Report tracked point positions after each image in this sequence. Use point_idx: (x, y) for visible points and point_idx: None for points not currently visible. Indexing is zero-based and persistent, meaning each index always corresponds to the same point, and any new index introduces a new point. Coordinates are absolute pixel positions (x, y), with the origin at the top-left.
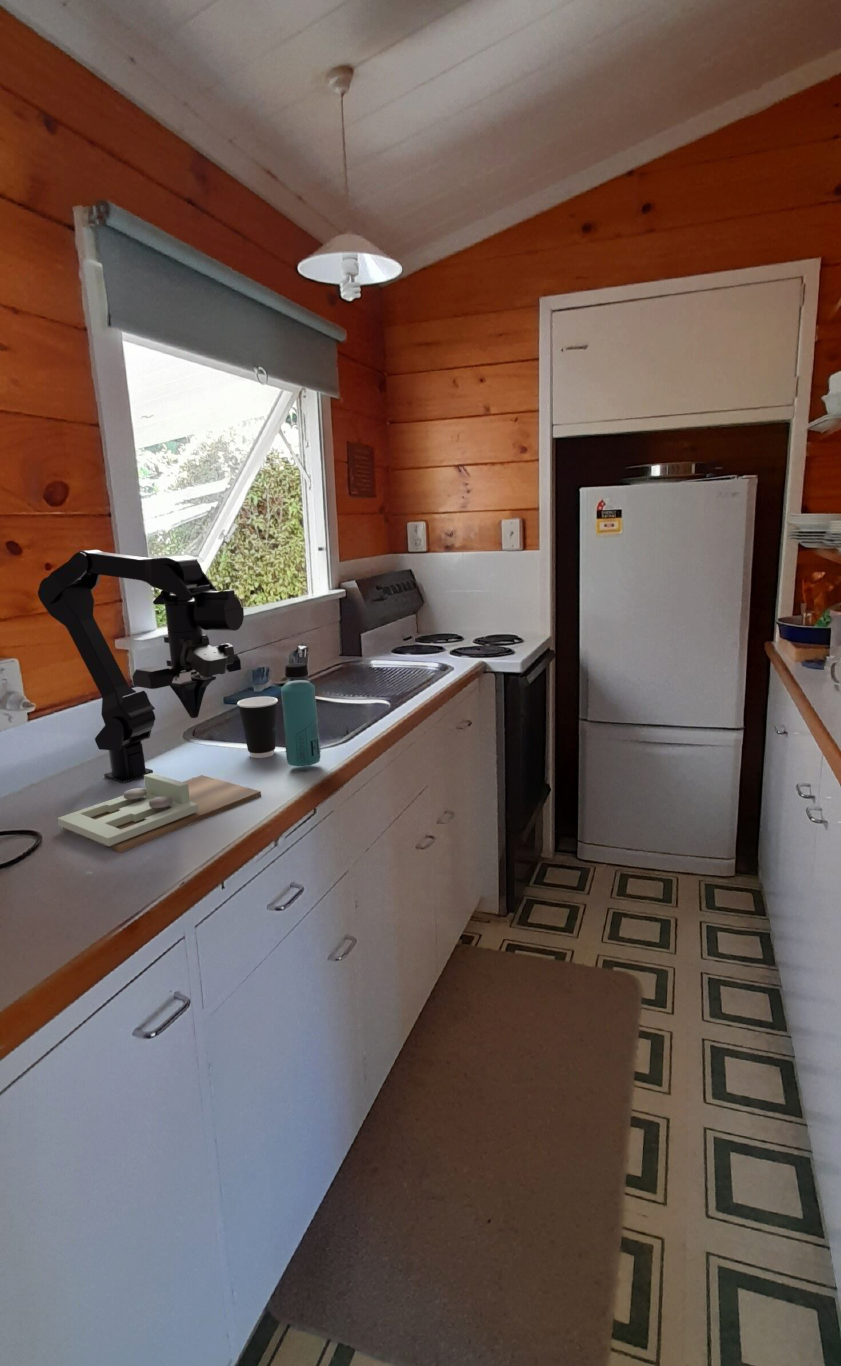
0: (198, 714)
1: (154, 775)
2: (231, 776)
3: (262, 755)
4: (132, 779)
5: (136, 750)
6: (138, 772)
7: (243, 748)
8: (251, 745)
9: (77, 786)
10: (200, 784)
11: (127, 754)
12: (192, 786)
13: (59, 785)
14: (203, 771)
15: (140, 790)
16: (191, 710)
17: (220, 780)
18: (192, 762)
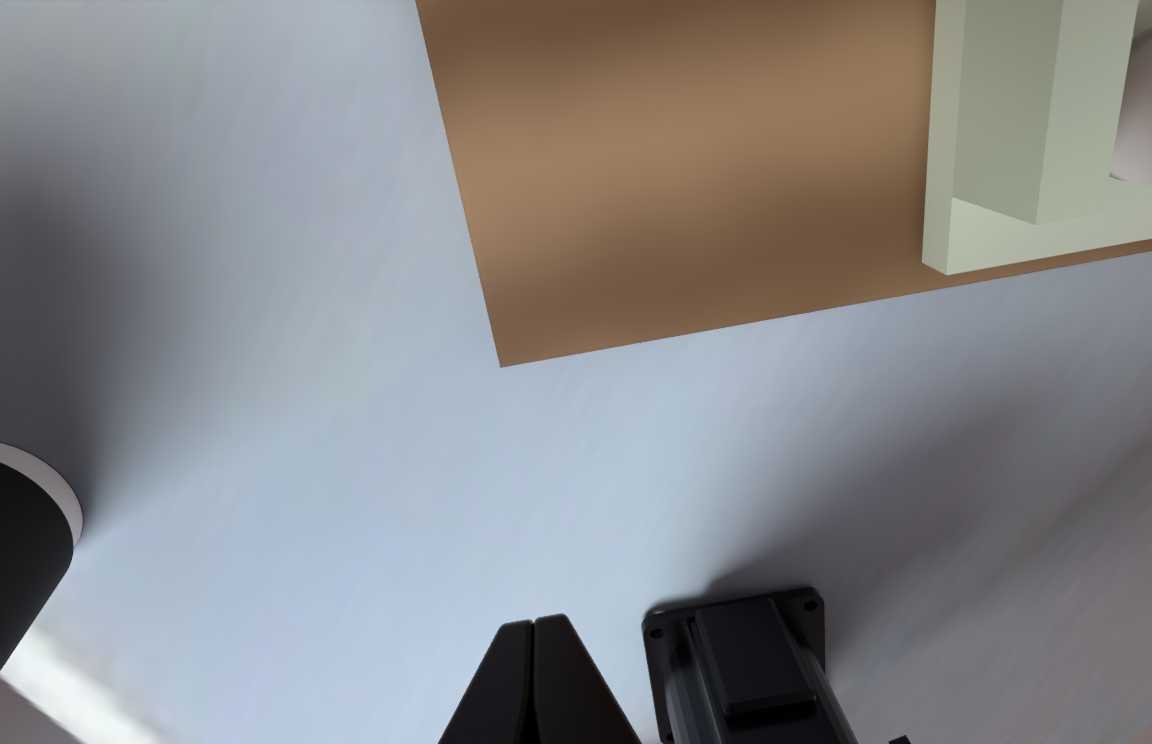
0: (488, 648)
1: (1068, 138)
2: (333, 268)
3: (4, 454)
4: (764, 595)
5: (768, 733)
6: (743, 613)
7: (76, 664)
8: (25, 535)
9: (947, 675)
10: (595, 201)
11: (828, 714)
12: (649, 208)
13: (977, 728)
14: (431, 475)
15: (1143, 102)
16: (613, 701)
17: (458, 169)
18: (412, 639)
